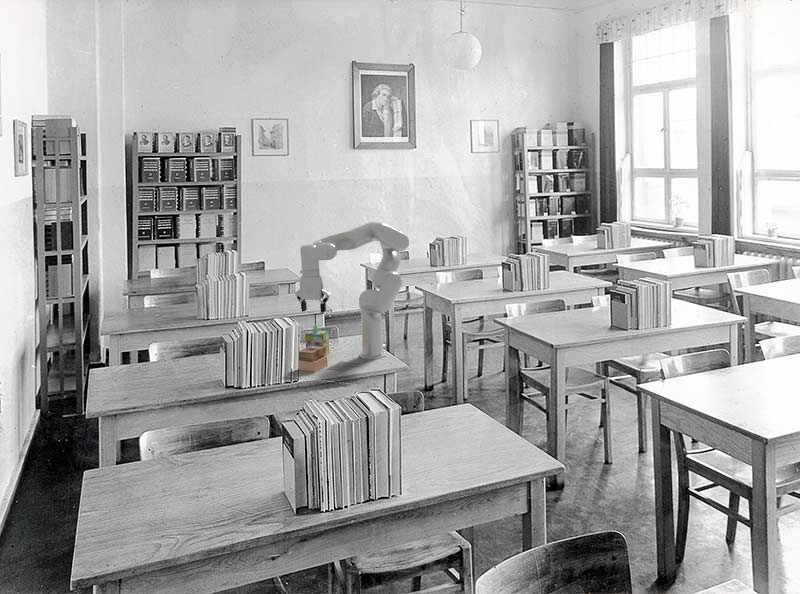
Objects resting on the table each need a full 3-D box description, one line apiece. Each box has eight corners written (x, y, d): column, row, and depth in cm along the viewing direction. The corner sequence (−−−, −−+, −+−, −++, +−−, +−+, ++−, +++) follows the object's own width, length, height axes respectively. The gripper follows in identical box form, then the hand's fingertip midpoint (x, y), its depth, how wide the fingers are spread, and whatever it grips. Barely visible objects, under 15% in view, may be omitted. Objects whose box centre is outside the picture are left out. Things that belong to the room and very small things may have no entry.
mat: (341, 362, 336) (341, 361, 336) (360, 364, 331) (360, 363, 331) (325, 370, 323) (325, 369, 323) (345, 372, 319) (345, 371, 319)
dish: (308, 364, 333) (308, 354, 332) (327, 367, 328) (327, 356, 328) (296, 370, 324) (296, 359, 323) (316, 373, 320) (315, 362, 319)
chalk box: (324, 358, 342) (323, 327, 340) (305, 358, 344) (304, 327, 341) (330, 353, 351) (329, 323, 348) (311, 353, 353) (310, 323, 350)
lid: (311, 354, 331) (311, 343, 331) (325, 355, 329) (324, 345, 328) (298, 360, 322) (297, 349, 321) (312, 362, 319) (311, 351, 318)
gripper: (289, 274, 320) (292, 312, 323) (323, 275, 312) (326, 314, 316) (298, 271, 326) (301, 308, 330) (332, 272, 319) (335, 310, 323)
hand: (313, 311), depth 323 cm, fingers open, 9 cm apart
